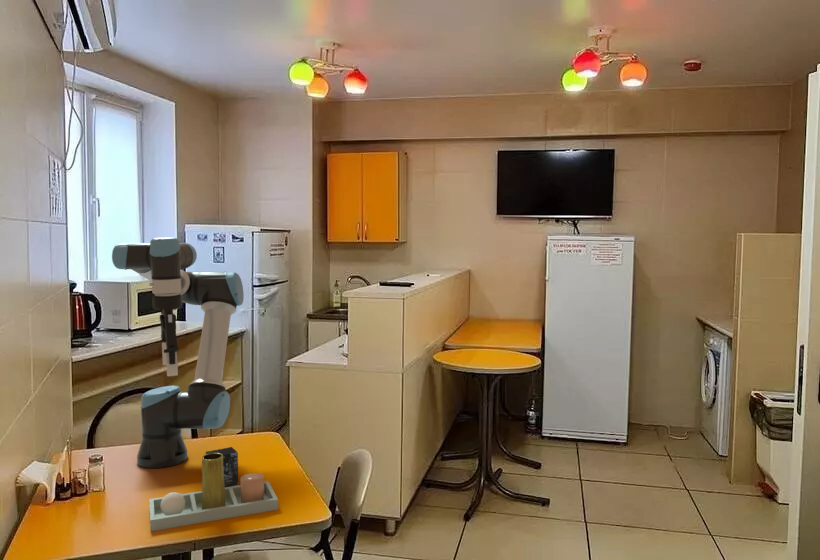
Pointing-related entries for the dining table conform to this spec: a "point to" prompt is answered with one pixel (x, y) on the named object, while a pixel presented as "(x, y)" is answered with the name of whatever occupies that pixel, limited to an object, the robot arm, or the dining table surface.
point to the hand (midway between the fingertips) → (170, 370)
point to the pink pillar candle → (252, 487)
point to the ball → (172, 504)
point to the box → (229, 465)
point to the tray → (197, 515)
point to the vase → (212, 481)
